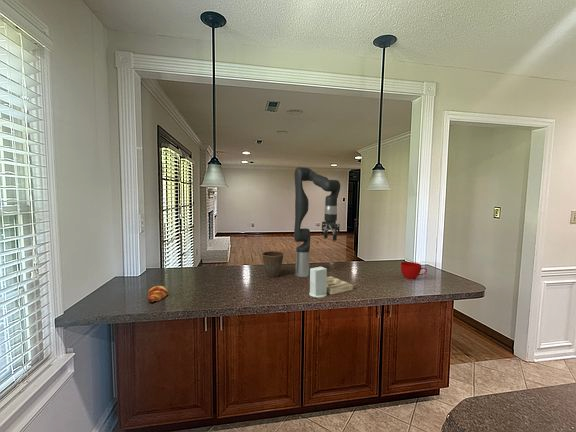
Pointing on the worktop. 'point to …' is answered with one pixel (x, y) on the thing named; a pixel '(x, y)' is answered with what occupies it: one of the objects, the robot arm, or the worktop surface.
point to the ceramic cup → (411, 270)
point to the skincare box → (318, 281)
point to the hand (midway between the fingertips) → (330, 239)
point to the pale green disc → (318, 295)
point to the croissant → (157, 293)
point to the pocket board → (337, 285)
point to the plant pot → (272, 263)
